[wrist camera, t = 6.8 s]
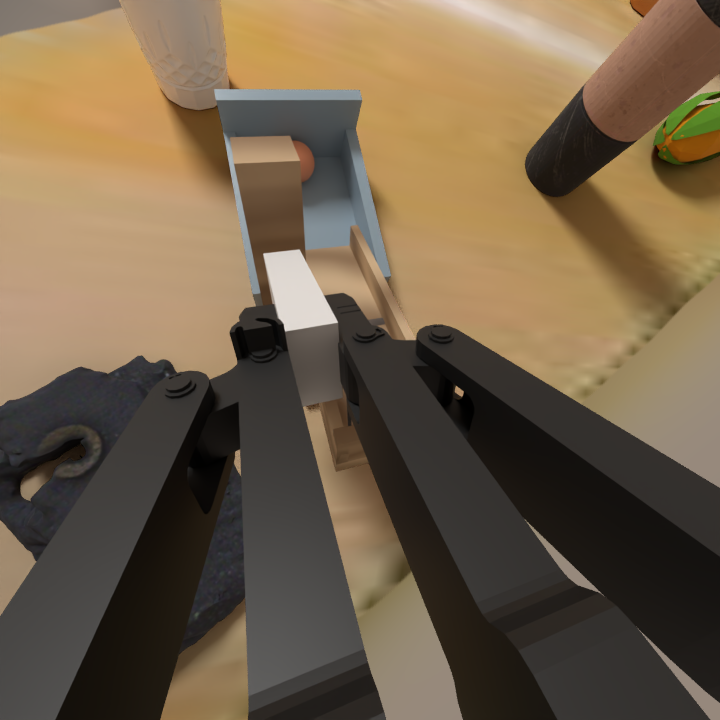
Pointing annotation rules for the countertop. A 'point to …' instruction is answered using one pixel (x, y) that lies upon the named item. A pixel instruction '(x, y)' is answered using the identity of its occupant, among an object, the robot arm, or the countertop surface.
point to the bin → (331, 156)
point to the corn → (691, 132)
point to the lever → (311, 260)
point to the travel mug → (629, 93)
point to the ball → (304, 160)
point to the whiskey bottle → (643, 5)
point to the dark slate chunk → (98, 436)
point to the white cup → (182, 47)
